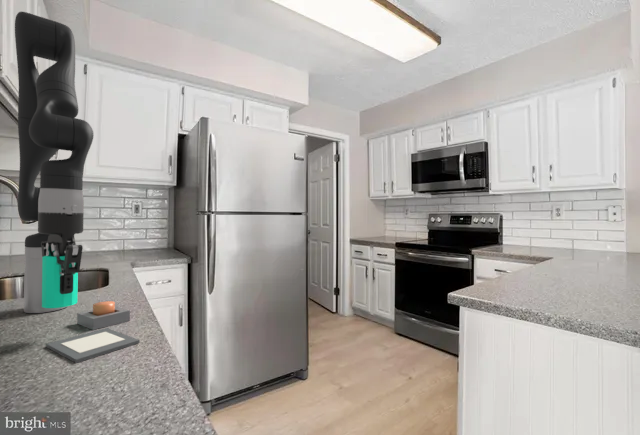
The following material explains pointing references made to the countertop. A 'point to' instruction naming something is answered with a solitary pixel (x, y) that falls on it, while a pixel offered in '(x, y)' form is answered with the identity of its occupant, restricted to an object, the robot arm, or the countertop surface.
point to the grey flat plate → (91, 344)
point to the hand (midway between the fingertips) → (60, 290)
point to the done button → (103, 308)
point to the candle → (56, 285)
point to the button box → (103, 318)
